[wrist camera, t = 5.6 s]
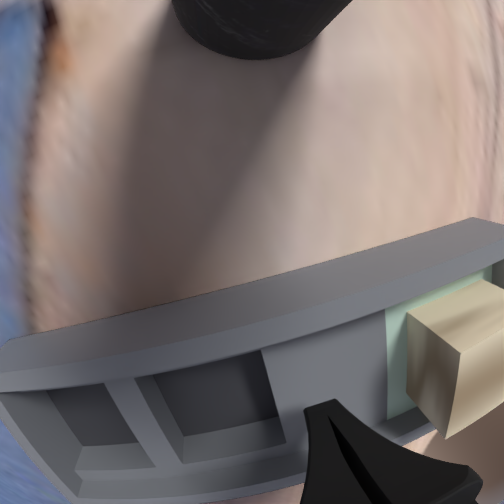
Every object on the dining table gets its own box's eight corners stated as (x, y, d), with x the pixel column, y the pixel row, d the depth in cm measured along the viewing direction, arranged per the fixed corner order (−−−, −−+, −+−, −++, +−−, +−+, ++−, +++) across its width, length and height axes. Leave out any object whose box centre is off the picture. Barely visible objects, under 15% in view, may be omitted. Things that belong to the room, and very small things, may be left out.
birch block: (474, 357, 15) (517, 390, 11) (405, 392, 14) (445, 439, 11) (481, 278, 13) (536, 305, 10) (406, 311, 13) (460, 353, 9)
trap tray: (467, 359, 18) (502, 387, 14) (87, 462, 16) (73, 505, 12) (472, 217, 15) (522, 229, 12) (9, 339, 14) (-27, 375, 10)
